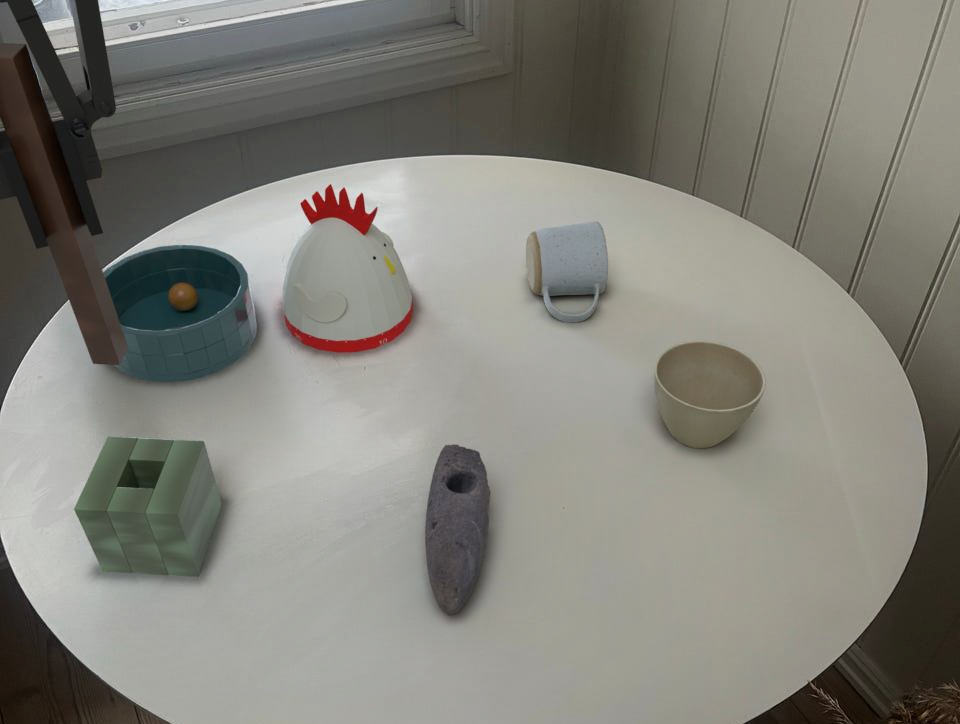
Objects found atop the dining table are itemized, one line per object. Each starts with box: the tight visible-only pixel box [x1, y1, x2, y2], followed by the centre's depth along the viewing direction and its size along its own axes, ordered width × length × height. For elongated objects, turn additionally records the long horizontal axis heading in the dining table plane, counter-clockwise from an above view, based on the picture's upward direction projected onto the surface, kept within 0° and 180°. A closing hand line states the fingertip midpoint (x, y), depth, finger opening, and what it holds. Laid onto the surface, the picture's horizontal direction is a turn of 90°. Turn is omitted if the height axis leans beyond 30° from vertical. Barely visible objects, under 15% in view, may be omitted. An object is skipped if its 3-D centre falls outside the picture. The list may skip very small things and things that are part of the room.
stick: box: [0, 42, 128, 366], centre depth 60 cm, size 2×2×22 cm
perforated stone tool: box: [424, 444, 491, 617], centre depth 75 cm, size 15×5×7 cm, turn 175°
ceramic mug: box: [525, 221, 609, 323], centre depth 101 cm, size 11×8×8 cm
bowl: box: [103, 244, 258, 383], centre depth 96 cm, size 16×16×6 cm
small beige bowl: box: [653, 340, 767, 449], centre depth 86 cm, size 10×10×7 cm
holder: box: [73, 436, 223, 578], centre depth 76 cm, size 8×8×8 cm
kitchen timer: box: [281, 183, 414, 354], centre depth 95 cm, size 14×14×15 cm
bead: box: [168, 283, 198, 311], centre depth 98 cm, size 3×3×3 cm
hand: (66, 230), depth 60 cm, fingers closed on stick, 3 cm apart
